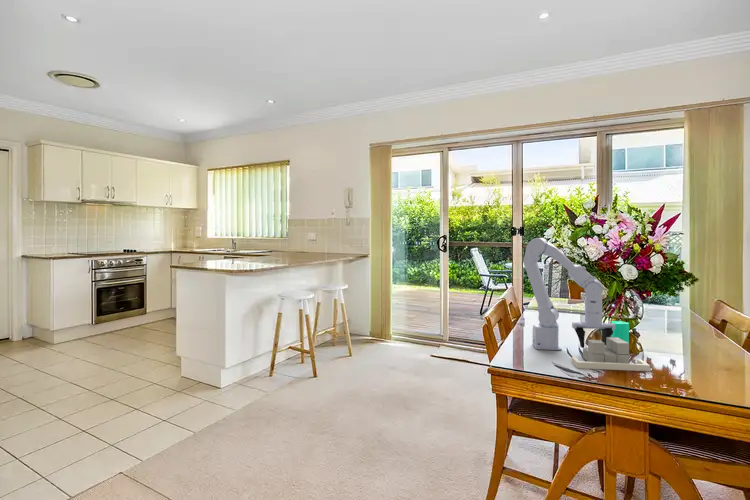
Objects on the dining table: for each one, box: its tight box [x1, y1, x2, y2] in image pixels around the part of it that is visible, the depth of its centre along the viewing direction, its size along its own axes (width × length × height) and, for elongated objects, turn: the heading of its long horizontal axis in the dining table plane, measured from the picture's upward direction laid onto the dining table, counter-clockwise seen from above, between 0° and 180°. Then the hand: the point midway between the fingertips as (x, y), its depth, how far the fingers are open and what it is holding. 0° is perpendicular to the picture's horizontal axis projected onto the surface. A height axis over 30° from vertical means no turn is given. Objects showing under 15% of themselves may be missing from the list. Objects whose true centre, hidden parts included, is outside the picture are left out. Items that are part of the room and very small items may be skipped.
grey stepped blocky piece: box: [582, 337, 630, 363], centre depth 143 cm, size 12×12×8 cm
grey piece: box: [570, 356, 651, 372], centre depth 136 cm, size 22×6×2 cm, turn 80°
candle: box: [610, 320, 630, 344], centre depth 156 cm, size 6×6×12 cm
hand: (593, 347), depth 151 cm, fingers open, 7 cm apart
